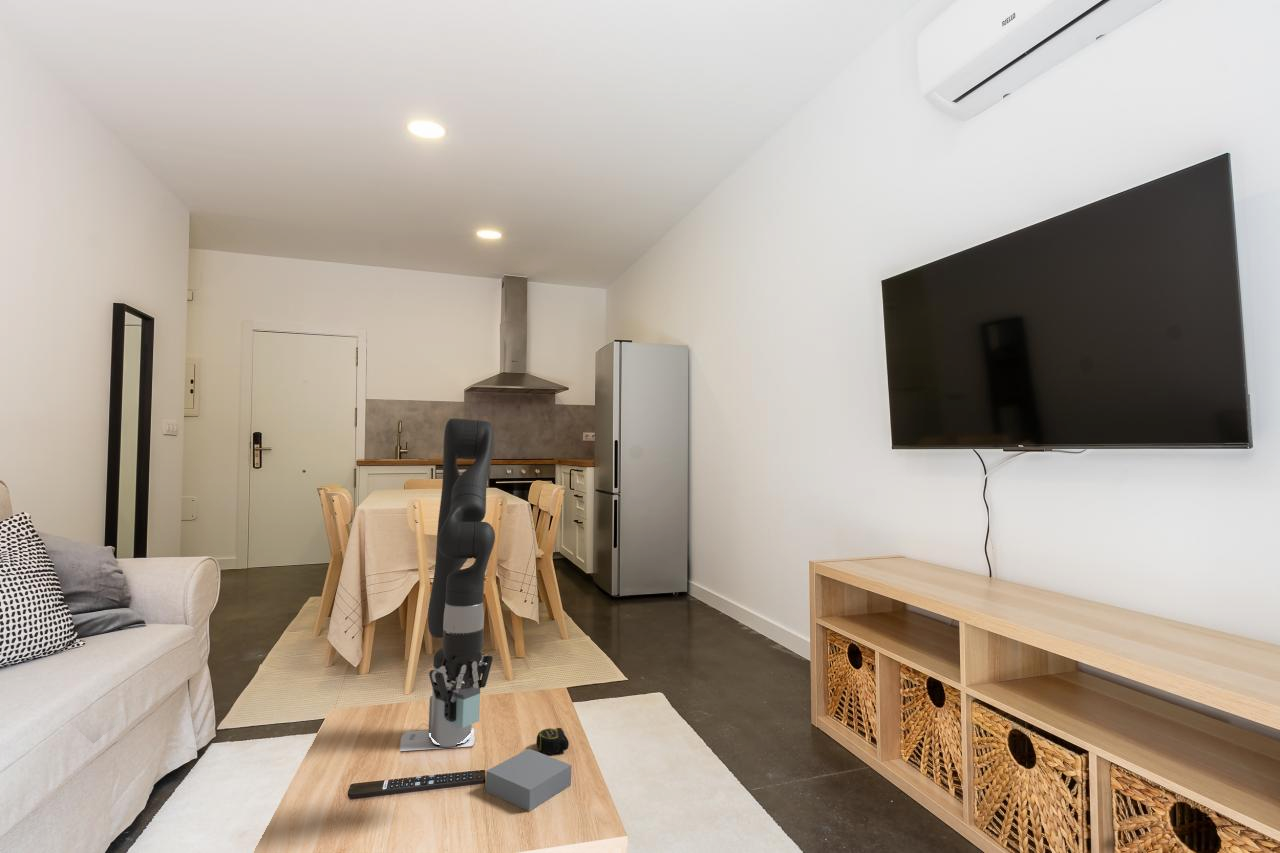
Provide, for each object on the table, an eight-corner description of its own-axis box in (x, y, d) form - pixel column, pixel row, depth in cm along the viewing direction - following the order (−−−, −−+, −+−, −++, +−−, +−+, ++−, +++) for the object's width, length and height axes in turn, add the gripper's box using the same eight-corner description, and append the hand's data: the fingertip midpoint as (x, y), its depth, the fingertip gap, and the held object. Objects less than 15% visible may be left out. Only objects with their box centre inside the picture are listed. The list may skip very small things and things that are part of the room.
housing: (441, 719, 121) (442, 687, 121) (458, 712, 125) (459, 682, 125) (462, 728, 118) (463, 695, 118) (479, 720, 121) (480, 689, 121)
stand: (485, 791, 126) (486, 770, 126) (528, 767, 136) (528, 748, 136) (529, 811, 119) (530, 789, 120) (570, 785, 129) (571, 765, 130)
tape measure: (569, 754, 143) (569, 738, 143) (538, 758, 140) (539, 741, 141) (563, 741, 149) (563, 725, 149) (534, 744, 147) (534, 728, 147)
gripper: (479, 615, 130) (475, 700, 129) (419, 630, 118) (416, 724, 117) (504, 621, 126) (501, 709, 125) (446, 638, 114) (442, 735, 113)
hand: (460, 716), depth 121 cm, fingers closed on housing, 4 cm apart
